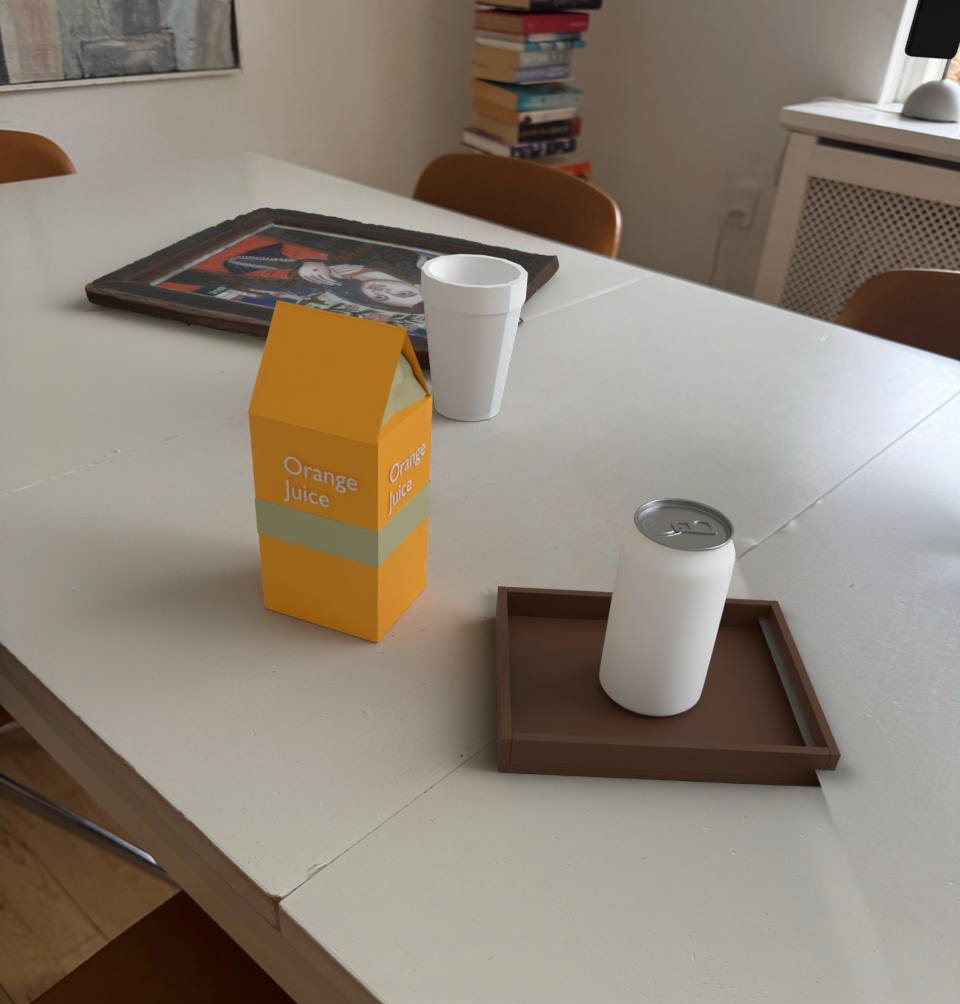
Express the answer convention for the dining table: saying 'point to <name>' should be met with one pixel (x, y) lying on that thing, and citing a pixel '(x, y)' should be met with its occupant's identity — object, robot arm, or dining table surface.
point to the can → (666, 606)
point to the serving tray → (641, 739)
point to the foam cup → (471, 330)
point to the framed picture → (295, 273)
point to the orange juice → (340, 470)
